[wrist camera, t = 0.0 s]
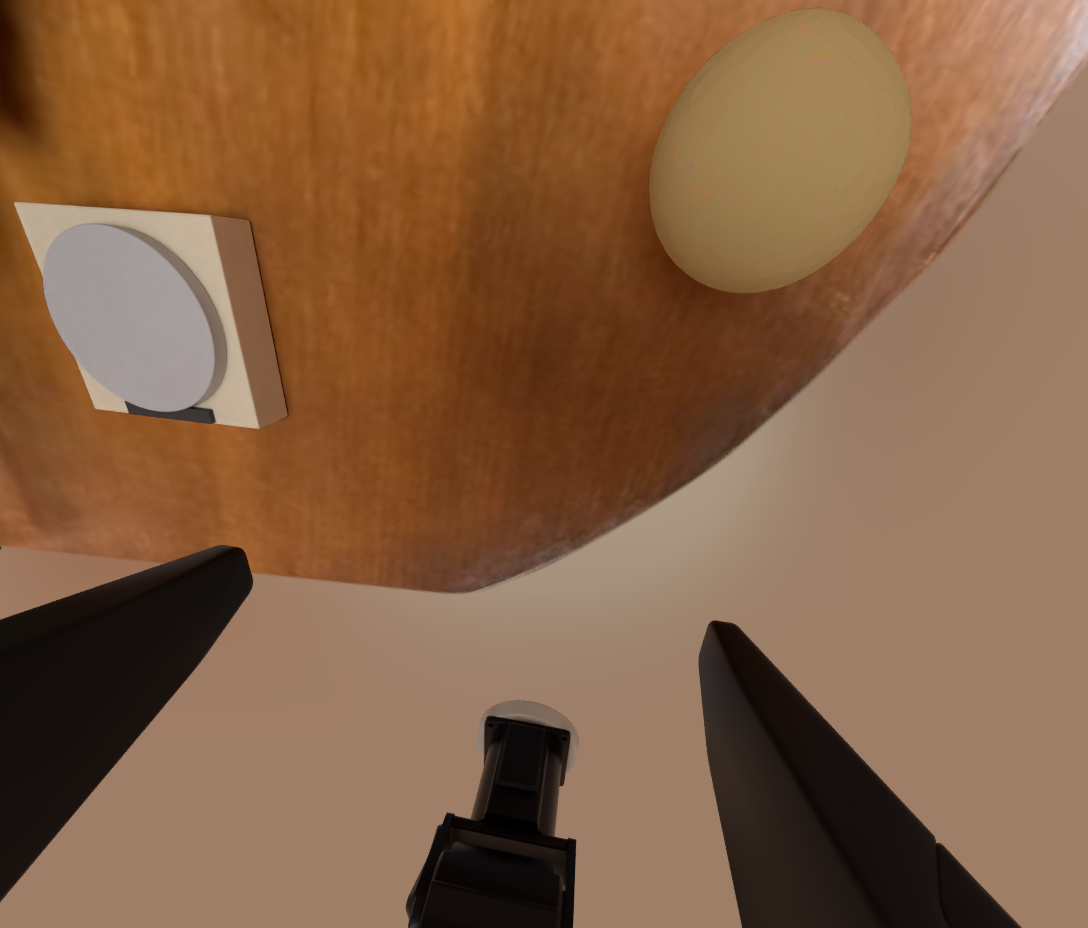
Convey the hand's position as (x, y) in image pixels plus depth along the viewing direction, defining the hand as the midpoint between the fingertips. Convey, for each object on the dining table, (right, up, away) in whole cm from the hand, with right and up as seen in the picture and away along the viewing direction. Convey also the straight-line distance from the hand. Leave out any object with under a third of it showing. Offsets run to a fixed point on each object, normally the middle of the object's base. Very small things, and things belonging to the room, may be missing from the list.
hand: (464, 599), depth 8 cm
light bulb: (+9, +14, +11) cm, 20 cm away
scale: (-19, +11, +16) cm, 27 cm away
